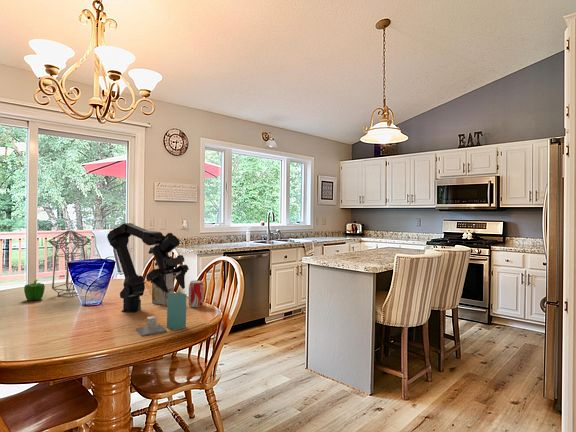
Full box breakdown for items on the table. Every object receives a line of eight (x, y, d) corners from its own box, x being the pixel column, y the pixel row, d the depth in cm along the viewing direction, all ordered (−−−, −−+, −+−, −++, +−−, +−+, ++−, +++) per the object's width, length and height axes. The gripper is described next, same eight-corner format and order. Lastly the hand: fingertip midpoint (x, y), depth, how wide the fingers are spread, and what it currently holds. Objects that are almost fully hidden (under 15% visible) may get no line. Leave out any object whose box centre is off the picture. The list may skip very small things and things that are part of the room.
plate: (135, 329, 136) (135, 328, 136) (159, 325, 141) (159, 324, 141) (141, 336, 129) (141, 334, 129) (166, 331, 134) (166, 330, 134)
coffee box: (174, 302, 178) (175, 270, 178) (165, 305, 172) (166, 272, 172) (160, 300, 182) (160, 269, 182) (151, 303, 176) (151, 270, 176)
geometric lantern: (92, 293, 195) (93, 229, 194) (70, 300, 179) (71, 231, 178) (67, 291, 197) (68, 228, 196) (43, 298, 182) (44, 230, 181)
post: (146, 328, 135) (147, 317, 135) (153, 327, 137) (154, 316, 137) (148, 330, 133) (148, 318, 133) (155, 329, 135) (156, 317, 135)
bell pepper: (36, 302, 173) (36, 281, 173) (20, 301, 174) (20, 281, 174) (48, 297, 182) (48, 278, 182) (32, 297, 182) (33, 278, 182)
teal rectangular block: (166, 327, 139) (167, 294, 139) (178, 324, 143) (178, 292, 143) (174, 330, 136) (175, 296, 136) (185, 326, 140) (186, 294, 140)
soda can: (199, 308, 168) (199, 283, 168) (185, 307, 169) (186, 282, 169) (205, 304, 174) (206, 280, 174) (192, 303, 176) (193, 279, 176)
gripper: (155, 250, 141) (170, 285, 137) (189, 247, 157) (203, 278, 153) (139, 263, 146) (153, 298, 141) (174, 259, 162) (187, 289, 158)
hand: (175, 290), depth 148 cm, fingers open, 9 cm apart
